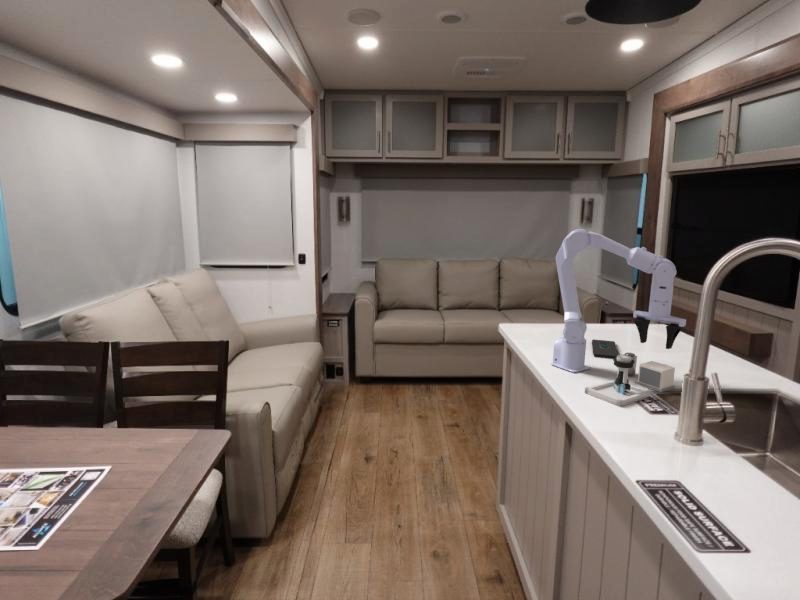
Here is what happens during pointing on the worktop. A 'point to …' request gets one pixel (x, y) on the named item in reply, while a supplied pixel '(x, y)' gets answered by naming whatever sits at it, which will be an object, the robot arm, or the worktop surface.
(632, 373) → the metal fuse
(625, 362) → the push button
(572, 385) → the worktop surface
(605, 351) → the smart home device
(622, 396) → the tray
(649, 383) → the panel
